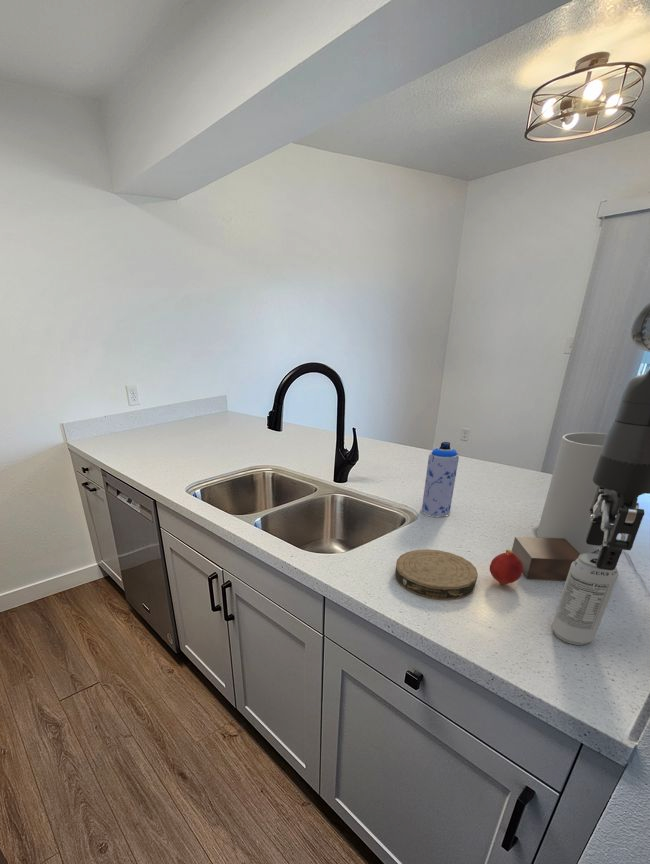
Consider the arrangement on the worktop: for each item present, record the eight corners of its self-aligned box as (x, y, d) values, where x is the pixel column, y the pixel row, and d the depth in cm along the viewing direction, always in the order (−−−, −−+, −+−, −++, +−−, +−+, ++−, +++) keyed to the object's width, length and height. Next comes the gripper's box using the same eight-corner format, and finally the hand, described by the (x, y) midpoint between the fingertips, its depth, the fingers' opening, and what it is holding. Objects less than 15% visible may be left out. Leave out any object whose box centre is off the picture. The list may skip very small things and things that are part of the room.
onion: (505, 574, 93) (513, 541, 89) (525, 589, 88) (534, 554, 84) (480, 578, 92) (487, 545, 89) (499, 593, 87) (507, 558, 84)
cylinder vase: (583, 560, 96) (619, 450, 85) (525, 541, 106) (551, 439, 95) (608, 544, 102) (646, 439, 91) (551, 527, 112) (579, 429, 100)
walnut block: (558, 558, 98) (564, 538, 96) (579, 581, 89) (587, 560, 87) (510, 556, 100) (514, 536, 98) (526, 578, 91) (531, 558, 89)
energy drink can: (599, 638, 74) (629, 561, 67) (582, 652, 71) (611, 573, 64) (561, 620, 78) (585, 547, 72) (543, 633, 76) (566, 558, 69)
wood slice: (430, 554, 103) (432, 543, 101) (492, 585, 90) (495, 572, 88) (379, 573, 96) (380, 561, 95) (437, 608, 84) (439, 596, 82)
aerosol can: (432, 504, 129) (441, 437, 120) (456, 512, 123) (468, 442, 114) (414, 511, 126) (423, 442, 117) (439, 519, 120) (450, 448, 111)
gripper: (689, 471, 53) (641, 583, 61) (654, 443, 65) (617, 540, 72) (613, 466, 56) (576, 573, 64) (592, 440, 68) (563, 533, 75)
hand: (598, 555), depth 68 cm, fingers open, 8 cm apart
